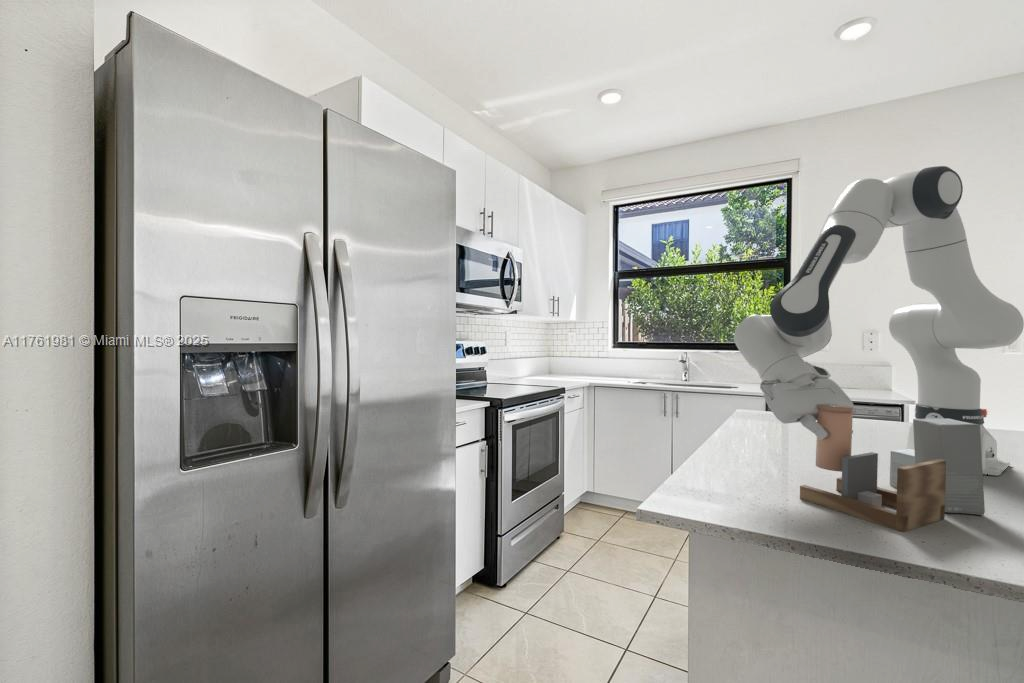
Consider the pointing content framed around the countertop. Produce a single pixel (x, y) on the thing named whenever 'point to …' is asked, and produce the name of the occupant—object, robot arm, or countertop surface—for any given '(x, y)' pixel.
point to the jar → (834, 436)
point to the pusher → (861, 478)
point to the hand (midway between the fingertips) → (837, 436)
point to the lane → (895, 498)
